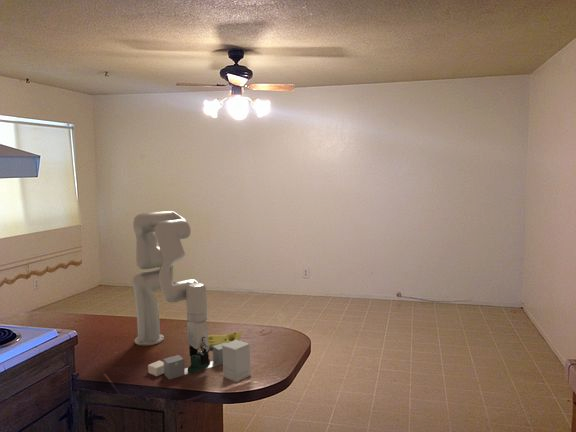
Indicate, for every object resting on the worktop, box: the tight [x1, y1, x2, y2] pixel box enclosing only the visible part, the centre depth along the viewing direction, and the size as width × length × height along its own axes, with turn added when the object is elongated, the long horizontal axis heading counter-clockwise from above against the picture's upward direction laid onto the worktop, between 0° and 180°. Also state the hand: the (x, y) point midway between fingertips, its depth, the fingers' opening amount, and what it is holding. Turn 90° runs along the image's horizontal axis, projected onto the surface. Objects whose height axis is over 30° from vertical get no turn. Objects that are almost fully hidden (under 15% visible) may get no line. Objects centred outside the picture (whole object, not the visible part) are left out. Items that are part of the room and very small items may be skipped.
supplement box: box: [222, 340, 252, 384], centre depth 172 cm, size 7×7×13 cm
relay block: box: [147, 360, 164, 377], centre depth 177 cm, size 5×5×4 cm
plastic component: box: [201, 329, 244, 349], centre depth 203 cm, size 20×7×10 cm
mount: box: [187, 351, 211, 374], centre depth 180 cm, size 11×4×5 cm, turn 148°
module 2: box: [212, 343, 227, 366], centre depth 186 cm, size 5×6×6 cm
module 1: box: [162, 354, 186, 380], centre depth 174 cm, size 5×6×6 cm
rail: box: [174, 360, 222, 379], centre depth 180 cm, size 5×26×1 cm, turn 125°
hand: (199, 359), depth 180 cm, fingers open, 9 cm apart
